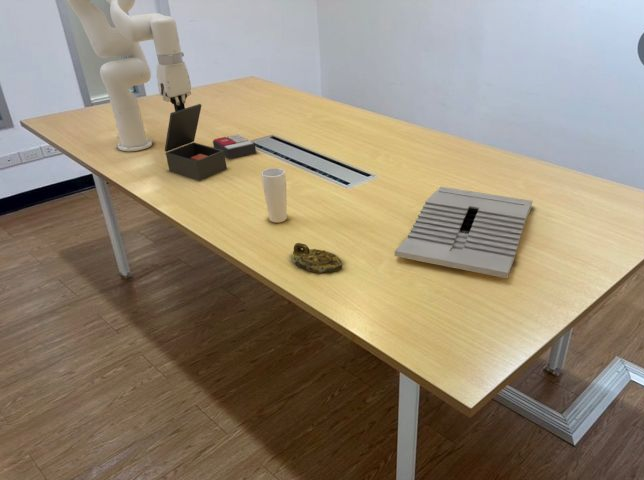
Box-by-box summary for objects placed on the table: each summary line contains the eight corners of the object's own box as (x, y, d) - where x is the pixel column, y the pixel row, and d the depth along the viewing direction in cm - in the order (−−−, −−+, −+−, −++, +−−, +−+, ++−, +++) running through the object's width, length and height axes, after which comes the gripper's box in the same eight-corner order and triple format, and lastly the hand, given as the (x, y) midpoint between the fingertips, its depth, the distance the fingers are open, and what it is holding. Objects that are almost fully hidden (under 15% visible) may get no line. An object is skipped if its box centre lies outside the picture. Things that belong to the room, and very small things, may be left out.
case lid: (201, 105, 189) (200, 103, 189) (172, 114, 180) (170, 112, 180) (194, 141, 200) (192, 140, 200) (165, 152, 192) (164, 150, 192)
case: (227, 168, 197) (224, 150, 194) (199, 180, 189) (196, 161, 185) (196, 159, 204) (193, 142, 201) (169, 171, 196) (165, 152, 192)
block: (192, 169, 195) (190, 157, 192) (202, 165, 198) (200, 153, 195) (201, 172, 193) (199, 160, 190) (211, 168, 196) (209, 156, 193)
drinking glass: (267, 214, 168) (262, 167, 159) (290, 213, 168) (285, 167, 160) (265, 225, 162) (260, 177, 154) (289, 224, 163) (284, 176, 154)
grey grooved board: (437, 193, 180) (438, 181, 178) (528, 206, 172) (530, 193, 170) (398, 262, 145) (399, 248, 142) (511, 281, 137) (513, 267, 135)
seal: (350, 264, 146) (301, 251, 151) (351, 248, 144) (301, 235, 149) (333, 278, 138) (282, 264, 144) (334, 261, 136) (282, 247, 141)
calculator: (238, 133, 218) (254, 141, 208) (240, 143, 220) (256, 153, 210) (211, 138, 213) (227, 147, 202) (213, 149, 215) (229, 159, 205)
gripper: (180, 53, 185) (190, 108, 195) (143, 61, 174) (155, 119, 184) (196, 56, 181) (205, 112, 191) (158, 64, 171) (170, 123, 181)
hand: (181, 115), depth 188 cm, fingers closed
